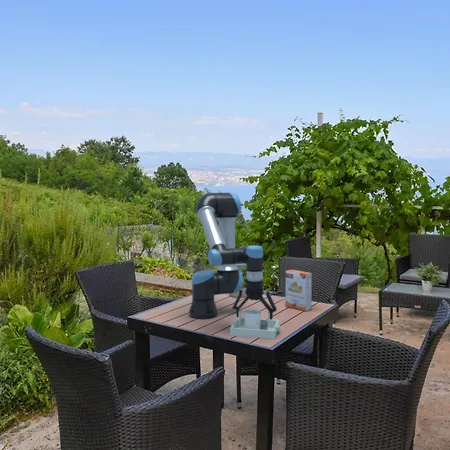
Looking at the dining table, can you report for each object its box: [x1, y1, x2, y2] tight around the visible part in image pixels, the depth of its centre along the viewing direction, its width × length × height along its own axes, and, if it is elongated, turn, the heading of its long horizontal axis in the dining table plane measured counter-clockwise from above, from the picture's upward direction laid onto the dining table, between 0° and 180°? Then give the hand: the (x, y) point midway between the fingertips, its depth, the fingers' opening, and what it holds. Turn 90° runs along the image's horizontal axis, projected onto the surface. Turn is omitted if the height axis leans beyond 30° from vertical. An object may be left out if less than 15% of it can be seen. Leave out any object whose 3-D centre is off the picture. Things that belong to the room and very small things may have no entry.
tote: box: [229, 317, 281, 340], centre depth 218 cm, size 22×17×4 cm
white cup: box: [243, 308, 262, 330], centre depth 216 cm, size 8×8×10 cm
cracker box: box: [284, 269, 313, 312], centre depth 260 cm, size 14×6×21 cm, turn 45°
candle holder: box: [228, 264, 247, 299], centre depth 291 cm, size 12×12×20 cm
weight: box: [260, 321, 268, 330], centre depth 223 cm, size 10×4×4 cm, turn 77°
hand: (254, 325), depth 216 cm, fingers open, 13 cm apart
